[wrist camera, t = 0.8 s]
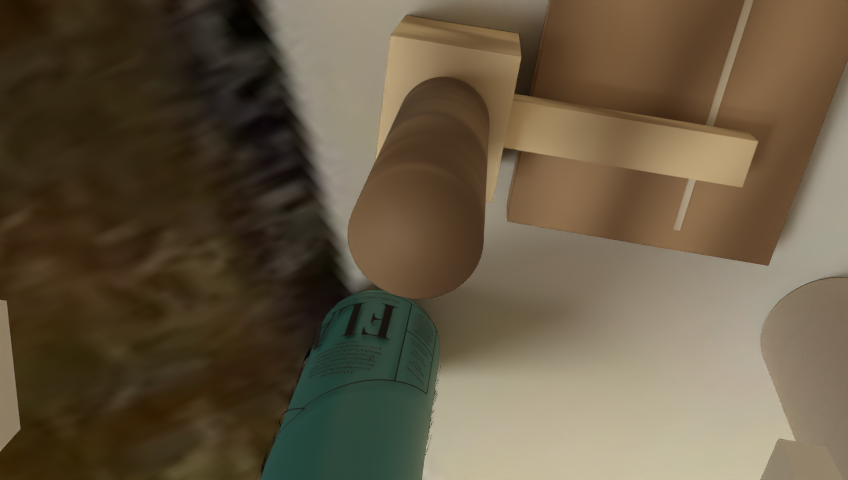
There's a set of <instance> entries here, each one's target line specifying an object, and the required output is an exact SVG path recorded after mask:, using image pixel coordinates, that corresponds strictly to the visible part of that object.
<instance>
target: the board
mask: <svg viewBox="0 0 848 480" xmlns="http://www.w3.org/2000/svg"><path fill="white" fill-rule="evenodd" d="M847 59H848V0H549V3H548V8H547V13H546V18H545V22H544V27H543V32H542V37H541V42H540V47H539V51H538V56H537V61H536V66H535V71H534V75H533V80H532V85H531V90H530V95H529V96H531V97H537V98H543V99H549V100H555V101H561V102H567V103H573V104H579V105H585V106H591V107H598V108H604V109H610V110H616V111H622V112H628V113H634V114H640V115H646V116H652V117H658V118H664V119H670V120H676V121H682V122H688V123H694V124H700V125H706V126H712V127H718V128H724V129H730V130H736V131H742V132H748V133H750V134H751V135H752V136H753V137H754V138H755V139H756V140H757V141H758V144H757V147H756V150H755V152H754V155H753V158H752V161H751V164H750V167H749V170H748V172H747V175H746V178H745V181H744V184H743V187H736V186H730V185H724V184H718V183H712V182H706V181H700V180H694V179H688V178H682V177H676V176H670V175H664V174H658V173H652V172H646V171H640V170H634V169H628V168H622V167H616V166H610V165H604V164H598V163H592V162H586V161H580V160H574V159H568V158H562V157H556V156H550V155H544V154H538V153H532V152H526V151H520V150H518V153H517V158H516V162H515V167H514V172H513V177H512V182H511V186H510V191H509V196H508V201H507V221H508V222H514V223H519V224H525V225H531V226H537V227H543V228H549V229H555V230H561V231H567V232H573V233H578V234H584V235H590V236H596V237H602V238H608V239H614V240H620V241H626V242H632V243H637V244H643V245H649V246H655V247H661V248H667V249H673V250H679V251H685V252H691V253H696V254H702V255H708V256H714V257H720V258H726V259H732V260H738V261H744V262H750V263H755V264H761V265H767V266H768V265H769V263H770V260H771V257H772V255H773V252H774V250H775V247H776V244H777V242H778V239H779V237H780V234H781V231H782V229H783V226H784V223H785V221H786V218H787V216H788V213H789V210H790V208H791V205H792V203H793V200H794V197H795V195H796V192H797V190H798V187H799V184H800V182H801V179H802V177H803V174H804V171H805V169H806V166H807V163H808V161H809V158H810V156H811V153H812V150H813V148H814V145H815V143H816V140H817V137H818V135H819V132H820V130H821V127H822V124H823V122H824V119H825V117H826V114H827V111H828V109H829V106H830V103H831V101H832V98H833V96H834V93H835V90H836V88H837V85H838V83H839V80H840V77H841V75H842V72H843V70H844V67H845V64H846V62H847Z"/></svg>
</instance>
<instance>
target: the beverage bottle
mask: <svg viewBox="0 0 848 480" xmlns="http://www.w3.org/2000/svg"><path fill="white" fill-rule="evenodd" d="M336 304H337V303H336ZM333 306H334V305H333ZM333 306H332V307H333ZM325 314H326V313H325ZM325 314H324V315H325ZM320 321H321V320H320ZM319 324H320V323H319ZM318 326H319V325H318ZM434 326H435V325H434V324H433V322H432V321H431V319H430V318H429V316H428V315H427V314H426V313H425V311H424V310H423V309H422V308H421V307H419V306H418V305H417V304H416V303H414V302H413V301H411V300H410V299H408V298H405V297H401V296H397V295H394V294H391V293H389V292H387V291H384V290H367V291H362V292H358V293H355V294H353V295H351V296H349V297H347V298H345V299H343V300H341V302H340V301H339V303H338V304H337V305H336V306H335V307H334V308H333V309H332V310H331V311H329V312H328V313H327V316H326V318H325V319H324V321H323V322H322V323H321V324H320V326H319V327H318V331H317V329H316V331H317V335H316V339H315V340H314V345H312V350H311V347H310V349H309V351H307V354H306V356H305V358H304V361H305V360H306V359H307V357H308V356H309V358H308V360H307V363H306V365H305V368H304V370H303V373H302V375H301V378H300V380H299V383H298V380H297V383H298V385H296V386H297V388H296V390H295V393H294V395H293V398H292V395H291V394H290V395H291V396H290V398H292V399H291V403H290V402H289V408H288V409H287V411H285V412H287V413H286V415H285V418H284V420H283V423H282V425H280V430H279V432H278V435H277V437H276V438H275V437H274V436H273V439H276V440H274V441H273V442H274V444H273V447H272V450H271V452H270V455H269V457H268V460H267V462H266V465H265V467H262V466H264V464H262V466H261V467H262V469H261V471H262V470H263V469H264V470H263V471H262V475H261V479H260V480H422V474H423V466H424V458H425V455H426V454H425V450H426V445H427V443H428V442H427V440H428V439H427V438H428V433H429V428H430V427H431V425H432V423H431V425H430V421H431V413H433V412H432V405H433V404H434V403H433V400H434V399H436V398H435V397H436V396H435V395H434V393H435V392H436V391H435V389H436V388H435V386H436V385H435V384H436V381H437V380H436V376H437V374H438V373H437V369H438V362H439V353H440V346H439V339H438V335H437V330H435V328H436V327H434ZM316 331H315V332H316ZM315 334H316V333H315ZM315 334H314V335H315ZM313 337H314V336H313ZM313 339H314V338H313ZM311 342H312V341H311ZM312 344H313V343H312ZM310 350H311V353H310ZM304 361H303V363H304ZM303 363H302V366H303ZM440 367H441V366H440ZM300 369H301V370H302V368H300ZM440 369H441V368H440ZM438 372H439V371H438ZM300 373H301V371H300ZM299 376H300V375H299ZM298 379H299V378H298ZM437 382H438V381H437ZM293 387H294V386H293ZM291 391H292V390H291ZM434 391H435V392H434ZM292 393H293V391H292ZM435 394H437V393H435ZM434 396H435V397H434ZM433 398H434V399H433ZM289 401H290V400H289ZM434 402H435V401H434ZM435 408H436V407H435ZM433 411H434V410H433ZM285 412H284V413H285ZM284 413H283V414H284ZM283 414H282V415H283ZM282 415H281V416H282ZM434 416H435V415H434ZM278 423H279V424H280V421H279V422H278ZM433 424H434V423H433ZM429 426H430V427H429ZM276 428H277V427H276ZM273 435H274V434H273ZM431 436H432V435H431ZM271 440H272V439H271ZM430 440H431V439H430ZM273 442H272V443H273ZM426 442H427V443H426ZM429 444H430V443H429ZM269 445H270V444H269ZM271 445H272V444H271ZM428 447H429V446H428ZM427 449H428V448H427ZM268 450H269V449H268ZM268 450H267V451H268ZM267 451H266V455H267ZM426 452H427V451H426ZM264 458H266V457H265V456H264ZM264 461H266V459H264ZM262 462H263V461H262ZM263 463H265V462H263Z"/></svg>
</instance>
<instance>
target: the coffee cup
mask: <svg viewBox="0 0 848 480" xmlns="http://www.w3.org/2000/svg"><path fill="white" fill-rule="evenodd" d="M761 351H762V354H763V357H764V360H765V363H766V365H767V368H768V371H769V373H770V376H771V378H772V381H773V383H774V386H775V389H776V391H777V394H778V396H779V399H780V401H781V404H782V407H783V409H784V412H785V414H786V417H787V420H788V422H789V425H790V427H791V430H792V432H793V435H794V438H795V440H796V442H800V443H806V444H812V445H817V446H823V447H825V448H826V450H827V451H828V453H829V455H830V457H831V458H832V460H833V462H834V464H835V465H836V467H837V469H838V471H839V472H840V474H841V476H842V478H843V479H844V480H848V278H828V279H823V280H818V281H815V282H812V283H809V284H806V285H804V286H802V287H800V288H798V289H796V290H794V291H793V292H791V293H790V294H788V295H787V296H786V297H784V298H783V299H782V300H781V301H780V302H779V303H778V304H777V305H776V306H775V307H774V308H773V310H772V311H771V312H770V314H769V315H768V317H767V319H766V321H765V323H764V326H763V329H762V333H761Z"/></svg>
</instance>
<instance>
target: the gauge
mask: <svg viewBox="0 0 848 480" xmlns="http://www.w3.org/2000/svg"><path fill="white" fill-rule="evenodd" d="M520 61H521V49H520V41H519V34H517V33H511V32H505V31H499V30H493V29H487V28H481V27H474V26H468V25H462V24H456V23H450V22H444V21H438V20H432V19H426V18H420V17H413V16H407V15H406V16H405V17H404V18H403V20H402V21H401V22H400V24H399V25H398V26H397V28H396V29H395V30H394V32H393V33H392V34H391V37H390V45H389V54H388V62H387V70H386V78H385V86H384V94H383V103H382V111H381V119H380V127H379V135H378V143H377V151H376V160H375V163H374V166H373V168H372V170H371V172H370V174H369V176H368V179H367V181H366V183H365V185H364V187H363V190H362V192H361V194H360V196H359V198H358V200H357V203H356V205H355V207H354V209H353V211H352V214H351V217H350V220H349V225H348V243H349V247H350V251H351V254H352V257H353V259H354V261H355V263H356V265H357V266H358V268H359V269H360V270H361V272H362V273H363V274H364V275H365V276H366V277H367V278H368V279H369V280H370V281H371V282H372V283H373V284H375V285H376V286H378V287H379V288H381V289H383V290H385V291H387V292H389V293H391V294H394V295H397V296H401V297H405V298H412V299H425V298H433V297H437V296H441V295H443V294H446V293H448V292H450V291H452V290H454V289H456V288H457V287H459V286H460V285H461V284H463V283H464V282H465V281H466V280H467V279H468V278H469V277H470V275H471V274H472V273H473V272H474V270H475V268H476V267H477V265H478V263H479V260H480V258H481V254H482V250H483V241H484V222H485V202H486V201H487V202H493V198H494V193H495V188H496V183H497V178H498V172H499V167H500V162H501V157H502V152H503V148H508V149H514V150H520V151H526V152H532V153H538V154H544V155H550V156H556V157H562V158H568V159H574V160H580V161H586V162H592V163H598V164H604V165H610V166H616V167H622V168H628V169H634V170H640V171H646V172H652V173H658V174H664V175H670V176H676V177H682V178H688V179H694V180H700V181H706V182H712V183H718V184H724V185H730V186H736V187H743V184H744V181H745V178H746V175H747V172H748V170H749V167H750V164H751V161H752V158H753V155H754V152H755V150H756V147H757V144H758V141H757V140H756V139H755V138H754V137H753V136H752V135H751V134H750V133H748V132H742V131H736V130H730V129H724V128H718V127H712V126H706V125H700V124H694V123H688V122H682V121H676V120H670V119H664V118H658V117H652V116H646V115H640V114H634V113H628V112H622V111H616V110H610V109H604V108H598V107H591V106H585V105H579V104H573V103H567V102H561V101H555V100H549V99H543V98H537V97H531V96H525V95H519V94H514V92H515V87H516V82H517V77H518V72H519V66H520Z"/></svg>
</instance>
